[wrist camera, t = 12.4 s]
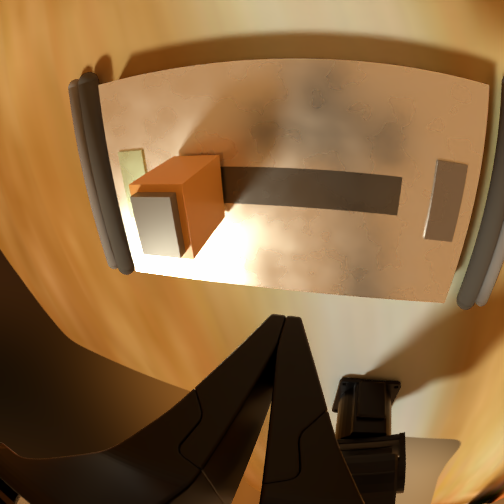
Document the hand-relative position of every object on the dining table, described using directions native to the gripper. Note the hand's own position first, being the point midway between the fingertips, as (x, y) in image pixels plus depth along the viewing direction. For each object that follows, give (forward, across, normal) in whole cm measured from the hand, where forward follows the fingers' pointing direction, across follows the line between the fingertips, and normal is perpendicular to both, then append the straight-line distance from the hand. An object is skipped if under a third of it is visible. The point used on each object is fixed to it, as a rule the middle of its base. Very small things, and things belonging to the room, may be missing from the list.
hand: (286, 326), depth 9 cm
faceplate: (+13, +2, 0) cm, 13 cm away
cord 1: (+13, +16, 0) cm, 21 cm away
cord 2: (+13, -12, 0) cm, 18 cm away
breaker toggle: (+11, +7, 0) cm, 13 cm away
